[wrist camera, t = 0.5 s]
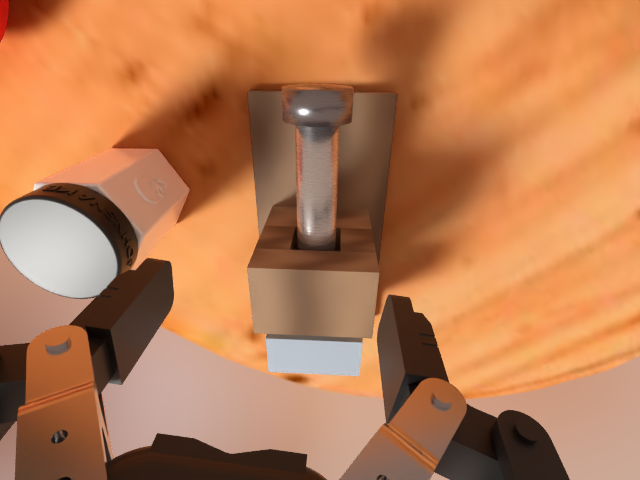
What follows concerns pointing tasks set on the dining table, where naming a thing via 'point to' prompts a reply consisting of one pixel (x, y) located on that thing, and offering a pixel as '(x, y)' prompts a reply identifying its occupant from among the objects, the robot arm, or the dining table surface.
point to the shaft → (317, 156)
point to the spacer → (314, 354)
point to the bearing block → (351, 224)
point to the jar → (93, 220)
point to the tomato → (3, 16)
